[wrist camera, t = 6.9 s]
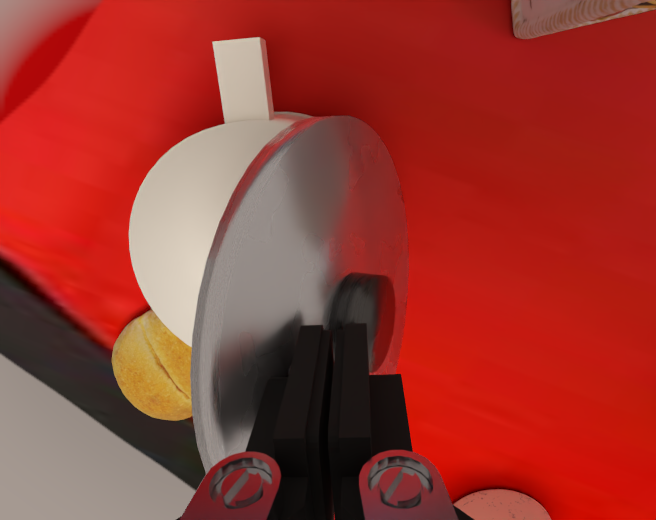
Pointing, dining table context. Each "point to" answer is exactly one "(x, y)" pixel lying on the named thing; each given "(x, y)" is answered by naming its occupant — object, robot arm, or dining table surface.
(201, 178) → the pot
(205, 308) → the lid
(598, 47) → the dining table surface
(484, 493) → the teacup with lid
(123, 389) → the bread roll
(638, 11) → the decorative jar
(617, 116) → the dining table surface
